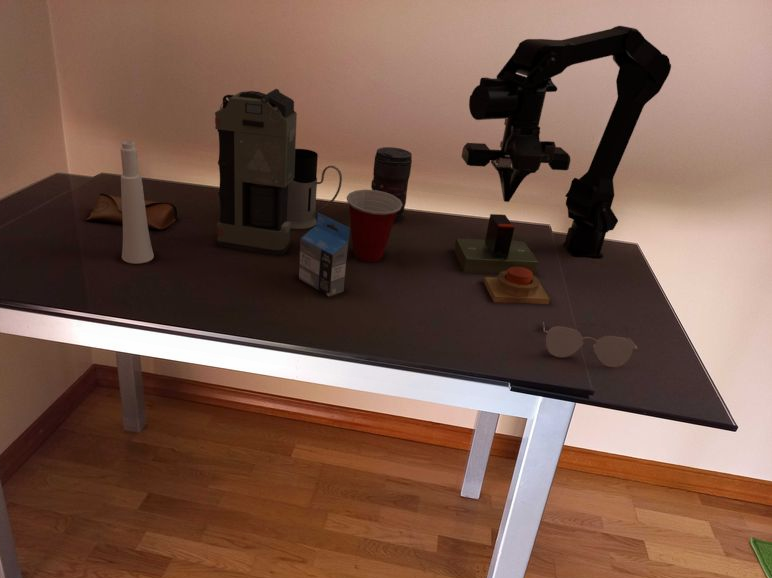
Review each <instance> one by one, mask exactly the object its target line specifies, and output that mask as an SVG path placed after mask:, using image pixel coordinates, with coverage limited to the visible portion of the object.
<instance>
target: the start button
mask: <svg viewBox="0 0 772 578" xmlns="http://www.w3.org/2000/svg"><path fill="white" fill-rule="evenodd" d="M532 275H533V273H532V272H531V271H530V270H529V269H526V268H523V267H511V268H509V269H508V272H507V277H506V280H507V281H509V282H511V283H514V284H518V285H528V284H530V283H531V279H532ZM533 276H534V275H533Z"/></svg>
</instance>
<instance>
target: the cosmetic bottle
mask: <svg viewBox="0 0 772 578" xmlns="http://www.w3.org/2000/svg"><path fill="white" fill-rule="evenodd" d="M135 143H136V142H135V141H132V140H124V141H122V142H121V146H122V147H121V148H120V157H121V169H122V173H121V175H120V190H121V191H120V194H121V196H120V197H121V198H122V219H123V225H122V250H121V260H122V261H124V262H126V263H127V264H136V265H137V264H144V263H149V262H150V261H152V260H153V259H154V257H155V254H154V251H153V247H152V242H151V237H150V231H149V229H148V224H147V217H146V209H145V201H144V200H145V194H144V193H145V192H144V184H143V178H142V174H140V171H139V163H138V162H139V160H138V149H137V147H136V146H135V145H136V144H135Z"/></svg>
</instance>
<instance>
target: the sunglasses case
mask: <svg viewBox="0 0 772 578" xmlns="http://www.w3.org/2000/svg"><path fill="white" fill-rule="evenodd" d="M144 201H145V209H146V217H147V224H148V230H160V231H161V230H165V229H167V228H169V227H170V226H172V225H173V224H174V223H175V222H176V221H177V218H178V210H177V207H176V206H175V204H173V203H172V202H167V201H153V200H146V199H144ZM85 220H86V221H96V222H103V223H108V224H114V225H122V226H123V219H122V198H121V196H118V195H112V194H108V193H102V192H101V193H100V194H99V197H98V199H97V200H96V203H95V205H94V207H93V208H92V210H91V212H90V214H89V216H88V217H87V218H85Z"/></svg>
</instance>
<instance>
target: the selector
mask: <svg viewBox="0 0 772 578" xmlns="http://www.w3.org/2000/svg"><path fill="white" fill-rule="evenodd" d="M514 232H515V227H514V225H513V224H512V222H511V221H510V219H509V218H508V216H507V215H506V214H501V213H500V214H499V213H490V214H489V219H488V224H487V228H486V233H485V239H484V240H485V243H486V245H487V247H488V249H489V250H490V252H491V254H492V256H498V257H508V255H509V250H510V246H511V241H513V237H514Z"/></svg>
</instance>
